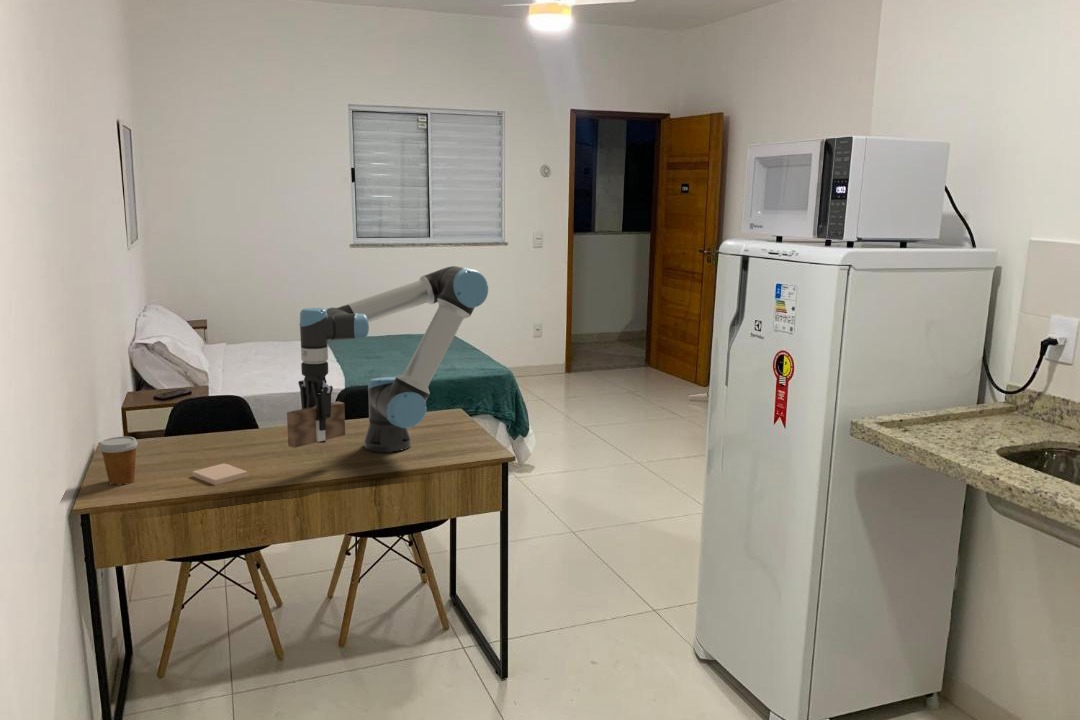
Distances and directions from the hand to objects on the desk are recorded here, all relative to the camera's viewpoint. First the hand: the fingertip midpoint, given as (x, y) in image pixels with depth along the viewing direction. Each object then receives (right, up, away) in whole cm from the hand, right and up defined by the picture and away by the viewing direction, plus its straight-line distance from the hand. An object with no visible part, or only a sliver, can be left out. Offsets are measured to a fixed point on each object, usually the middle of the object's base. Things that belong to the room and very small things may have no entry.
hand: (317, 439), depth 235 cm
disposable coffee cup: (-52, -11, -11) cm, 54 cm away
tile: (-23, -9, -2) cm, 25 cm away
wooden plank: (0, 0, 0) cm, 0 cm away
